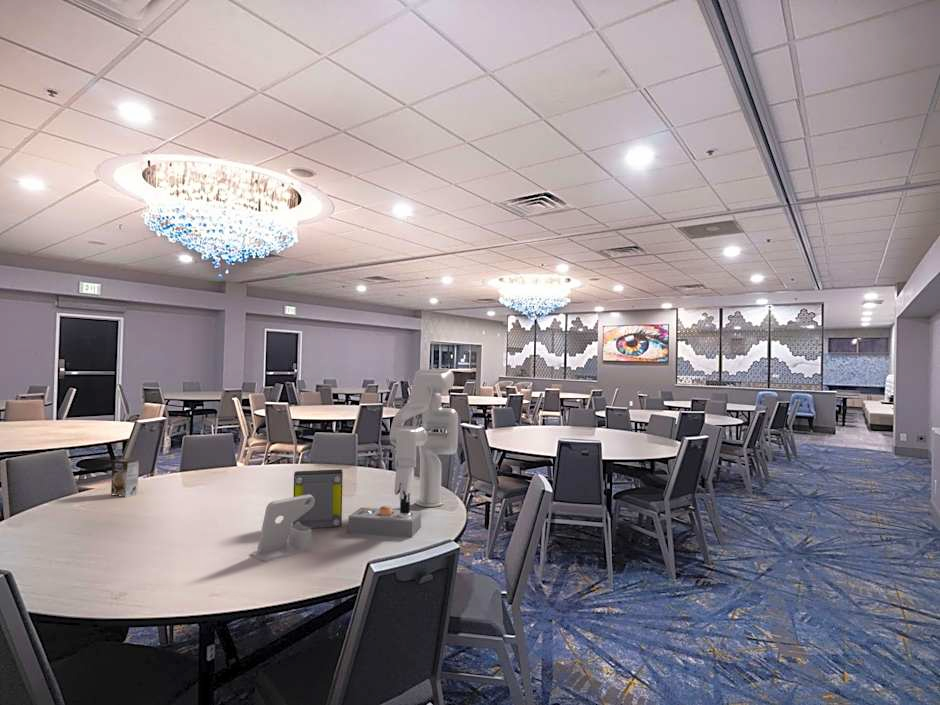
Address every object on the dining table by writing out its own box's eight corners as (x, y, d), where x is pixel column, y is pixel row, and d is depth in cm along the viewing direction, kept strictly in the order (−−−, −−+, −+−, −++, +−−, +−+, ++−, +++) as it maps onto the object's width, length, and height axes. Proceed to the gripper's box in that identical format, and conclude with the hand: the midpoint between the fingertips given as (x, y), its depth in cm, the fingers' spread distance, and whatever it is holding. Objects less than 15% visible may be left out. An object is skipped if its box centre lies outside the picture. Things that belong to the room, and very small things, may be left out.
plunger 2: (400, 524, 195) (401, 510, 196) (412, 525, 195) (412, 511, 195) (397, 528, 191) (397, 513, 191) (408, 528, 190) (409, 514, 190)
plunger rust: (381, 519, 197) (382, 505, 197) (393, 520, 196) (393, 505, 196) (377, 522, 192) (378, 508, 193) (389, 523, 192) (389, 509, 192)
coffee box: (110, 495, 238) (111, 460, 238) (123, 492, 244) (124, 457, 244) (125, 497, 235) (126, 461, 236) (138, 494, 241) (139, 459, 242)
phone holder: (299, 541, 180) (300, 489, 181) (315, 548, 173) (316, 494, 174) (249, 554, 167) (251, 497, 168) (264, 562, 161) (266, 503, 161)
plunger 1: (362, 522, 198) (363, 508, 198) (373, 523, 197) (374, 509, 197) (358, 526, 194) (358, 511, 194) (369, 527, 193) (370, 512, 193)
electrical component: (292, 531, 192) (293, 476, 192) (293, 522, 201) (295, 470, 202) (341, 527, 196) (342, 474, 197) (340, 519, 206) (341, 469, 207)
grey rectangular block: (360, 523, 202) (361, 507, 202) (420, 527, 198) (421, 511, 198) (348, 532, 190) (348, 516, 190) (412, 537, 186) (412, 520, 186)
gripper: (402, 458, 201) (401, 506, 201) (389, 465, 187) (388, 517, 186) (421, 459, 200) (420, 508, 199) (410, 466, 185) (408, 518, 185)
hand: (404, 512), depth 193 cm, fingers closed
